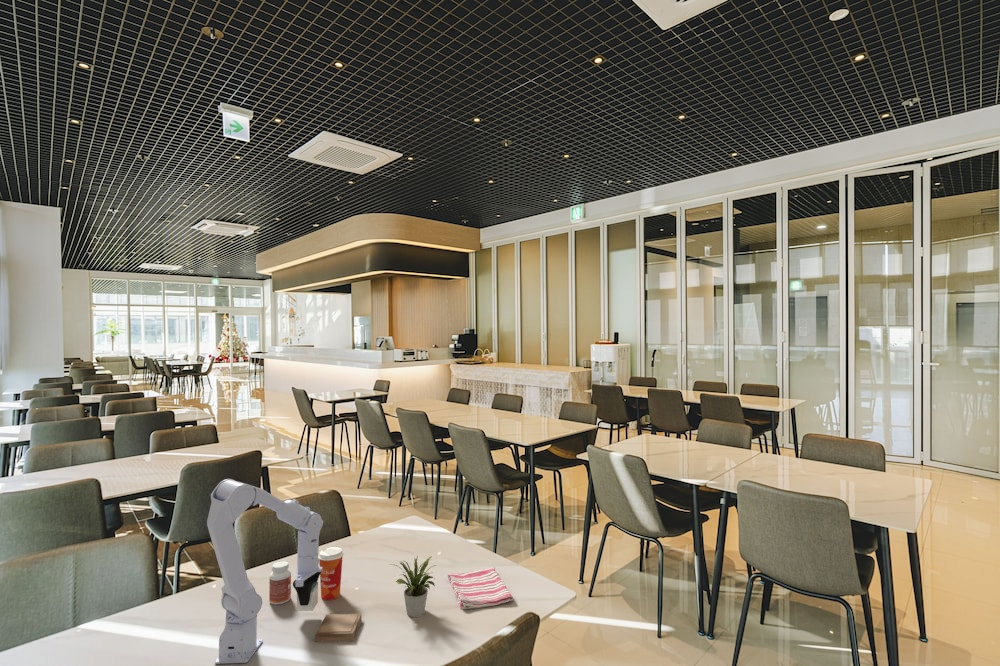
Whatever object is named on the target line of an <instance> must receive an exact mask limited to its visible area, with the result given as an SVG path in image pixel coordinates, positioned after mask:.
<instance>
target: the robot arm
mask: <svg viewBox="0 0 1000 666" xmlns="http://www.w3.org/2000/svg"><path fill="white" fill-rule="evenodd" d="M210 500H211V502H210V507H209V512H208V515H207V516H208V517H207V520H206V525H207V529H208V533H209V536H210V539H211V543H212V546H213V549H214V553H215V556H216V560H217V563H218V567H219V569H220V575H221V577H222V579H223V580H222V581H223V584H224V585H223V586H222V587H221V588H220V589H221V593H222V595H221V607H222V609H224V610H225V625H224V628H223V631H222V632H221V633H220V635H219V639H218V657H217V658H216V659H215V662H214V664H216V665H218V664H223V665H224V664H246V663H248V662H249V661H250V660H251V658H252V657H253V655H254V654H255V652H256V651H257V650H258V649H259V647H260V645H262V643H263V639H262V638H259V639H258V638H257V636H258V635H257V634H258V633H257V630H258V628H257V625H258V613H259V612H260V611H261V609H262V606H263V598H262V596H261V595H260V594H259V593H257V591H256V588H255V585H253V583H252V582H251V581H250V579H249V577H248V574H247V571H246V567H245V564H244V559H243V557H242V554H241V549H240V546H239V543H238V539H237V535H236V532H235V527H234V522H235V521H236V520H237V519H238V518H239V517H240V516H242V515H243V513H244V512H245V511H246V510H248V508H249V507H250V506H253V507H254V506H256V505H260V506H263V507H265V508H267V509H268V510H271V511H273V512H276V518H277V519H278V520H280V521H281V522H284V523H286V524H288V525H290V526H292V527H293V528H295V530H297V561H296V562H297V566H296V567H297V568H296V579H295V580H293V581H292V587H293V588H294V589H295V591H296V595H297V594H298V598H299V602H300V605H301V606H307V605H308V604H309V600H310V593H311V589H312V586H313V583H314V582H319V579H320V573H321V571H322V567H320V564H319V558H318V556H319V542H320V541H319V536H320V534H321V530H322V528H323V525H324V520H323V518H322V515H320V513H319V512H318V513H317V512H314V511H312V510H311V507H309V506H303V505H302V504H300V501H299V500H297V499H295V498H294V499H286V500H282V499H280V498H278V497H277V496H275V495H273V494H272V493H270V492H268V491H267V490H265V489H263V488H260V487H257V486H254V485H251V484H248V483H244V482H241V481H236V480H235V479H233V478H226V479H223V480H221V481H220V482H219V483H218V484H217V485H216V487H214V489H213V491H212V492H211V494H210Z"/></svg>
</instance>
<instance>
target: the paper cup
mask: <svg viewBox="0 0 1000 666" xmlns="http://www.w3.org/2000/svg"><path fill="white" fill-rule="evenodd" d="M344 554H345V553H344V552H343V549H342V548H341V547H337V546H335V547H334V546H332V547H327V548H324V549H322V550H320V552H319V553H318V558H319V567H322V571H321V573H320V576H319V579H320V580H319V581H320V584H319V585H320V597H321V599H322V600H323V601H332V600H335V599H338V598H339V597H340V595H341V583H342V573H343V572H342V571H343V570H342V569H343V556H344Z"/></svg>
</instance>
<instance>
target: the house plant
mask: <svg viewBox="0 0 1000 666" xmlns="http://www.w3.org/2000/svg"><path fill="white" fill-rule="evenodd" d="M418 556H419V555H417V556H416V557H414V564H413V565H414V570H412V569H411V567H410V566H409V564H408V562H407V561H405V560H404V559H403V560H402V561H400V562H399V564H400V565H401V566H402V567H403V569H404V570H402V568H401V567H400V566H399V565H397V564H391V563H389V564H388V565H392V566H395V567H398V568H399V569H401V571H402V574H399V576H403V577H404V578H405V579H406V580H404V579H402V578H399V579H397V580H396V581H395V583H397V585H400V584H404V585H405V586H404V588H405V589H404V591H403V597H404V598H403V599H404V603H405V609H406V610H405V611H406V615H407V616H408V617H412V618H418V617H422V616H423V615H424V614H425V611H426V604H427V599H428V591H429V590H430V585H432V586H433V587H436V585H435V582H434V581H432V580H430V579H434V580H436V578H435V577H434V576H431V575H430V572H428V571H429V570H431V568H433V567H435V566H437V565H435V564H434V565H432V566H430V567H429V568H427V567H428V565H429V562H430V560H431V558H432V555H431V556H429V557H428V558H426V560H425V561H424V562H422V563H421V564H420V566H418V558H419V557H418ZM404 562H405V563H404ZM405 564H406V565H405ZM426 568H427V570H426ZM425 570H426V571H425ZM432 573H433V572H431V574H432ZM406 574H407V575H406ZM406 581H407V582H406Z"/></svg>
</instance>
